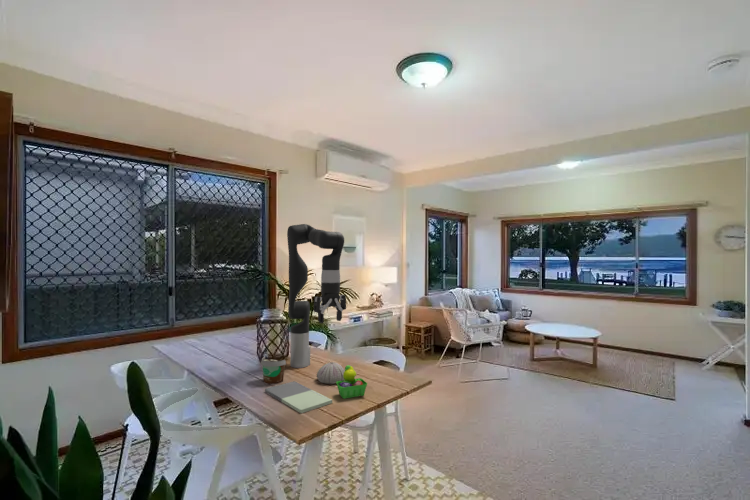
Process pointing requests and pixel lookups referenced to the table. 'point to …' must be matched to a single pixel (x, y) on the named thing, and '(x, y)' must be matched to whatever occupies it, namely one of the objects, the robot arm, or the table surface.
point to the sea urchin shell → (330, 373)
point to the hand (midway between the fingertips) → (330, 321)
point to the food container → (273, 370)
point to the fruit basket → (351, 384)
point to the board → (298, 396)
